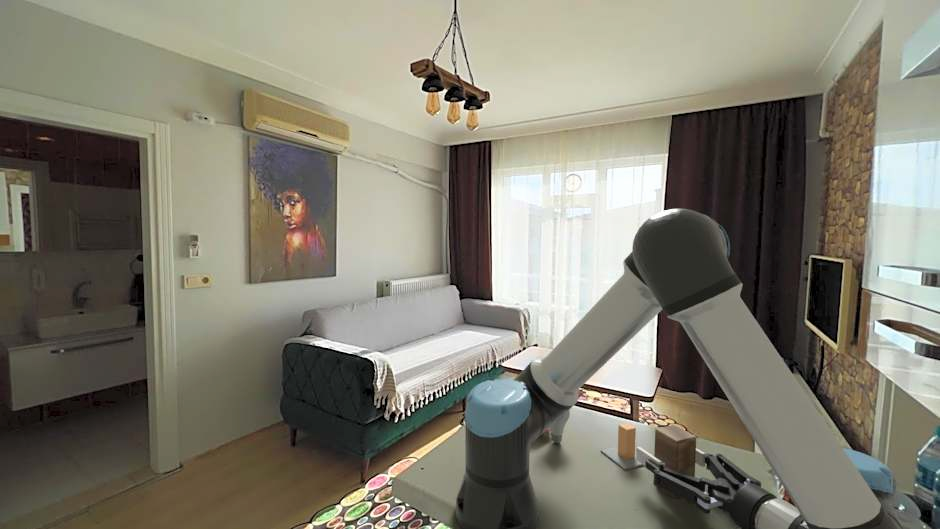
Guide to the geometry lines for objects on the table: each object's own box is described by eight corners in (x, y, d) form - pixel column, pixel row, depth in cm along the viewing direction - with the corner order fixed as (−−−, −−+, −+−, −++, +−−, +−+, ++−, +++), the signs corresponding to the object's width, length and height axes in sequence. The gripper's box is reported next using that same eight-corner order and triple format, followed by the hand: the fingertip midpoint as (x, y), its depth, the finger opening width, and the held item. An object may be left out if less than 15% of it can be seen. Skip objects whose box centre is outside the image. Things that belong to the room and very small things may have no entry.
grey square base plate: (624, 470, 85) (625, 437, 84) (600, 451, 92) (601, 421, 92) (652, 463, 87) (654, 431, 87) (627, 445, 95) (628, 416, 94)
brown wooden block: (674, 498, 75) (676, 441, 75) (653, 482, 80) (655, 428, 80) (693, 492, 77) (696, 436, 77) (672, 477, 82) (674, 424, 81)
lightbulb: (567, 437, 99) (568, 395, 98) (570, 450, 93) (571, 405, 92) (542, 436, 99) (543, 394, 99) (545, 448, 93) (546, 404, 93)
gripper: (717, 561, 58) (614, 476, 79) (812, 523, 66) (695, 455, 87) (719, 513, 57) (615, 440, 78) (815, 481, 65) (697, 423, 86)
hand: (657, 448), depth 82 cm, fingers open, 10 cm apart
